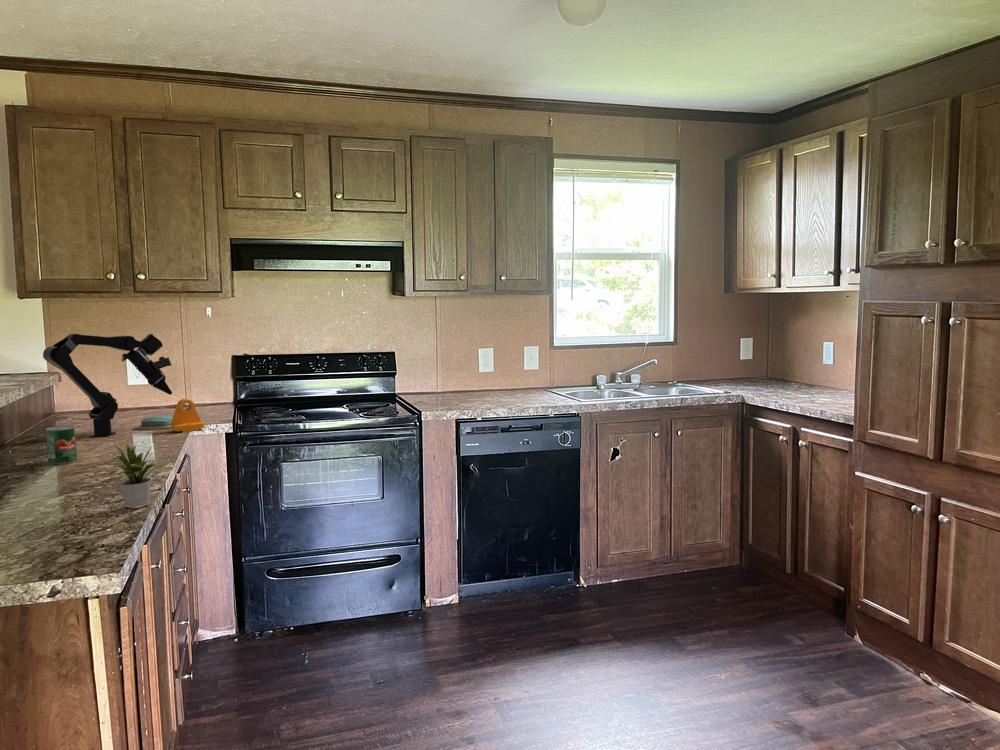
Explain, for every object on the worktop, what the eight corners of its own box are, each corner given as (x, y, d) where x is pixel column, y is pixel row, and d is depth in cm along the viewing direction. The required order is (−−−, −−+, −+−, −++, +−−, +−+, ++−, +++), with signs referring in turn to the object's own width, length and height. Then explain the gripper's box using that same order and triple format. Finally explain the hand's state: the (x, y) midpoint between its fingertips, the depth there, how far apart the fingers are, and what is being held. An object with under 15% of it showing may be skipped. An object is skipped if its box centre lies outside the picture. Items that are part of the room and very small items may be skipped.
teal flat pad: (170, 429, 291) (170, 421, 291) (134, 429, 291) (134, 422, 291) (185, 422, 305) (185, 415, 304) (151, 423, 305) (150, 416, 304)
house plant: (85, 511, 181) (80, 444, 179) (132, 496, 194) (127, 434, 192) (130, 516, 176) (125, 448, 174) (175, 500, 189) (171, 437, 187)
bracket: (175, 433, 282) (173, 402, 281) (171, 431, 288) (169, 400, 286) (205, 430, 288) (203, 399, 287) (200, 427, 294) (198, 397, 293)
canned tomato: (58, 459, 240) (55, 425, 239) (82, 459, 240) (79, 425, 239) (42, 465, 232) (39, 430, 231) (67, 464, 232) (64, 429, 231)
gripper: (160, 350, 284) (189, 381, 289) (158, 349, 301) (186, 378, 306) (135, 369, 281) (165, 400, 286) (135, 367, 298) (163, 396, 303)
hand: (170, 393), depth 295 cm, fingers open, 9 cm apart
